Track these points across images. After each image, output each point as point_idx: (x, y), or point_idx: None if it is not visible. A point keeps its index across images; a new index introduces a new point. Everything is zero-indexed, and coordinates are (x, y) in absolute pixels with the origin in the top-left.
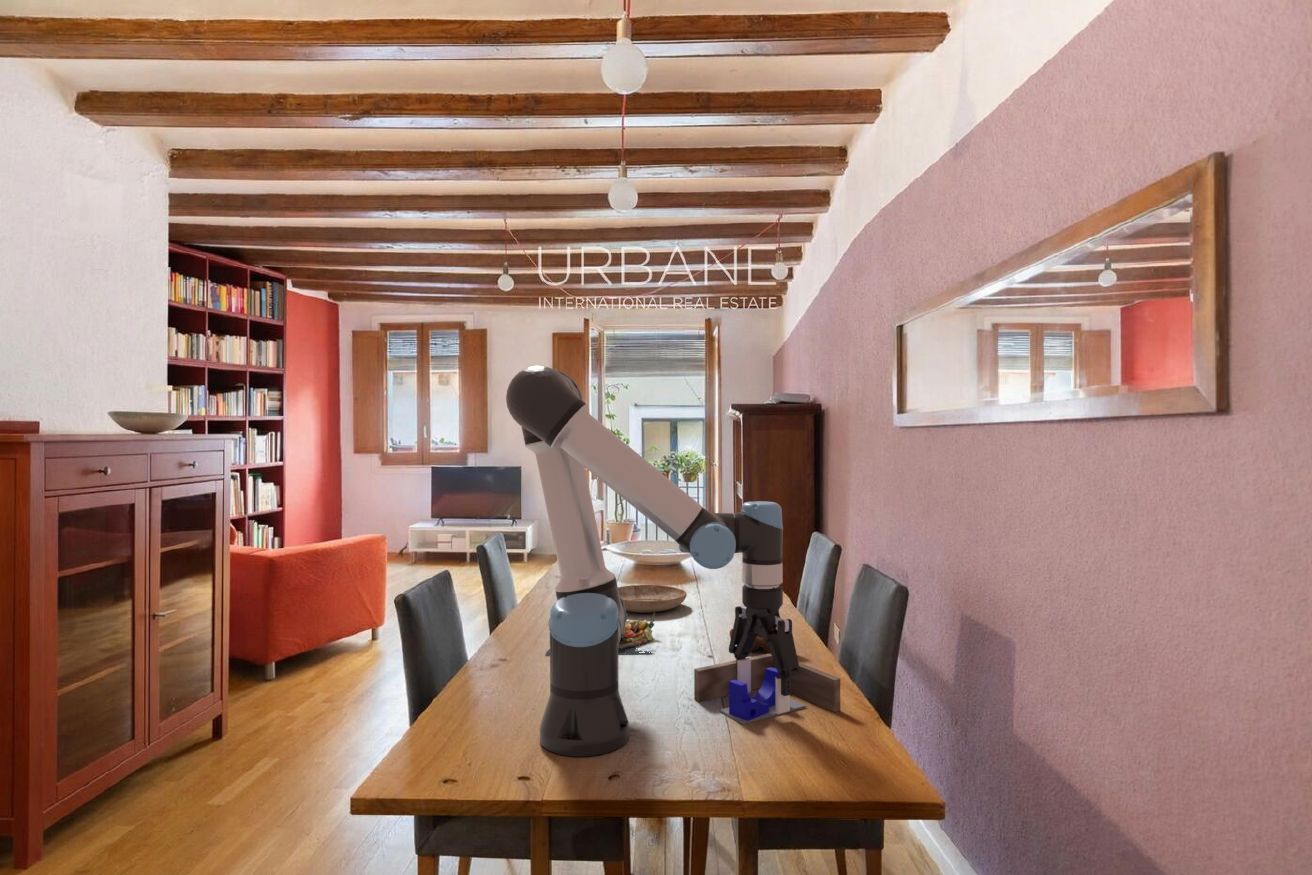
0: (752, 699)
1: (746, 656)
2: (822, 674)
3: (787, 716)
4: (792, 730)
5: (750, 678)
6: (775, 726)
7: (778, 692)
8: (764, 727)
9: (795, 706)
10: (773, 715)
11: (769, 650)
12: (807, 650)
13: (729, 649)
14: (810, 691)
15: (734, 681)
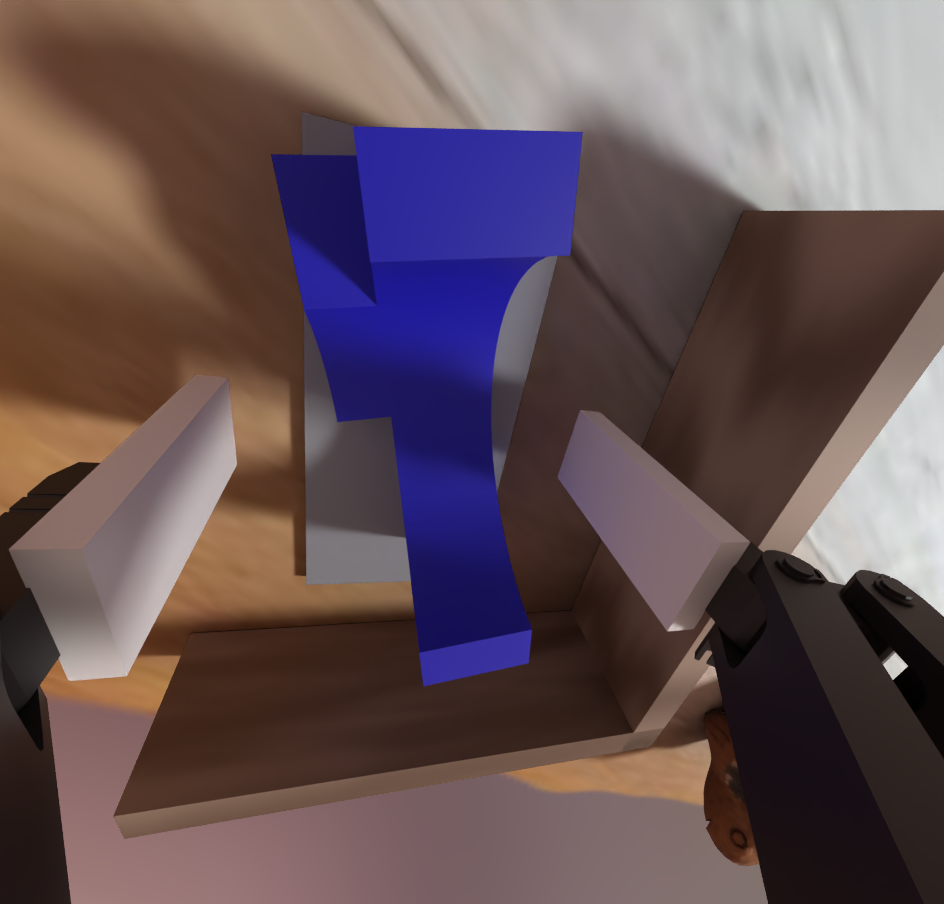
0: (350, 296)
1: (713, 629)
2: (247, 799)
3: (261, 452)
4: (27, 323)
5: (592, 523)
6: (150, 285)
7: (117, 447)
8: (168, 206)
9: (324, 547)
10: (305, 398)
11: (715, 723)
12: (636, 776)
13: (910, 592)
14: (350, 663)
15: (529, 195)
